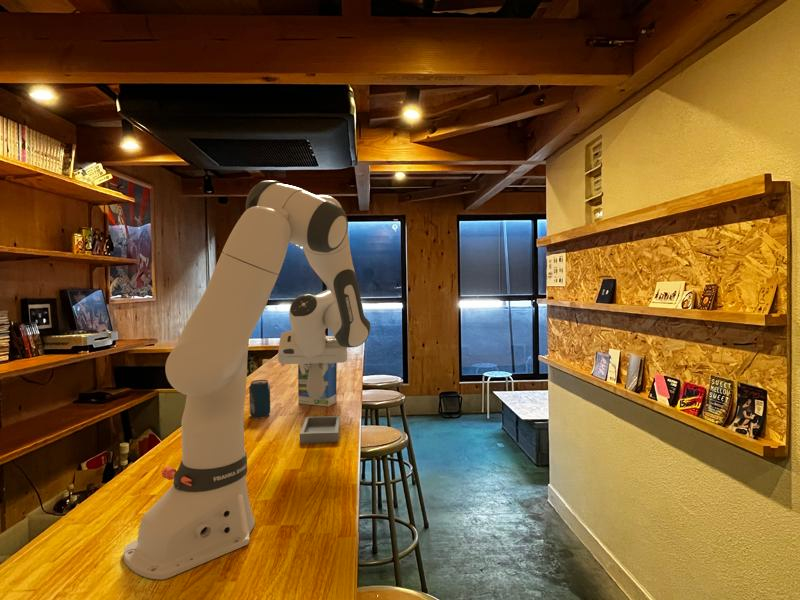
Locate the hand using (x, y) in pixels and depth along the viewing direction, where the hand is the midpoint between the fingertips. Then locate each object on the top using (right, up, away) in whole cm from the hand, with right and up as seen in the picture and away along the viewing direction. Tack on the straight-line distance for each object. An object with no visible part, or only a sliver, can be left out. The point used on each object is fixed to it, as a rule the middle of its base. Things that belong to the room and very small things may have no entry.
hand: (315, 367), depth 142 cm
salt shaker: (0, -9, 0) cm, 9 cm away
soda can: (-23, -20, +20) cm, 36 cm away
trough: (+2, -21, +1) cm, 21 cm away
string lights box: (-5, -19, +35) cm, 40 cm away
